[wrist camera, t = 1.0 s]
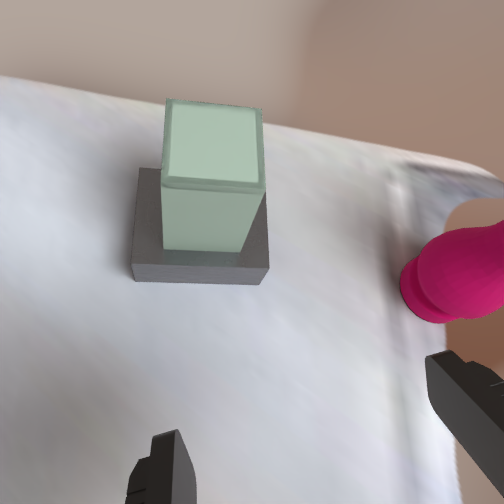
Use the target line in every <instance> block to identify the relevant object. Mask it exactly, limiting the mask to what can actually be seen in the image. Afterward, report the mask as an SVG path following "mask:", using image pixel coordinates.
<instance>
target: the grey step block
mask: <svg viewBox="0 0 504 504" xmlns="http://www.w3.org/2000/svg"><path fill="white" fill-rule="evenodd" d="M131 267H132V271H133V274H134V278H135V282H168V283H204V284H239V285H259V284H260V283H261V281H262V279H263V278H264V276H265V275H266V273H267V272H268V270H269V249H268V229H267V209H266V190H265V193H264V195H263V198H262V200H261V203H260V205H259V207H258V210H257V212H256V215H255V217H254V220H253V222H252V225H251V227H250V229H249V232H248V234H247V237H246V239H245V242H244V244H243V247H242V249H241V252H216V251H193V250H169V249H164V246H163V224H162V202H161V169H150V168H139V179H138V190H137V201H136V211H135V222H134V233H133V244H132V255H131Z"/></svg>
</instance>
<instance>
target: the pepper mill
mask: <svg viewBox="0 0 504 504" xmlns="http://www.w3.org/2000/svg"><path fill="white" fill-rule="evenodd" d="M400 288H401V293H402V295H403V298H404V300H405V302H406V303H407V305H408V306H409V308H410V309H411V310H412V311H413V312H414V313H415V314H416V315H418V316H419V317H421V318H422V319H424V320H426V321H429V322H432V323H446V322H450V321H453V320H455V319H458V318H464V319H473V318H480V317H483V316H486V315H488V314H490V313H492V312H494V311H496V310H497V309H499V308H500V307H501V306H503V305H504V220H502V221H501V222H499V223H497V224H495V225H492V226H488V227H475V228H461V229H457V230H453V231H449V232H446V233H444V234H441V235H439V236H437V237H435V238H434V239H432V240H431V241H430V242H428V243H427V244H426V246H425V247H424V248H423V250H422V251H421V254H420V255H419V256H418V257H416V258H415V259H413V260H412V261H410V262H409V263H408V264H407V265H406V266H405V267H404V269H403V271H402V273H401V278H400Z"/></svg>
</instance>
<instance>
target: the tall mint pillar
mask: <svg viewBox="0 0 504 504" xmlns="http://www.w3.org/2000/svg"><path fill="white" fill-rule="evenodd" d="M265 190H266V183H265V163H264V144H263V124H262V109H259V108H250V107H240V106H232V105H223V104H214V103H204V102H195V101H186V100H176V99H168V98H166V108H165V123H164V138H163V153H162V168H161V202H162V224H163V246H164V249H169V250H193V251H216V252H241V249H242V247H243V244H244V242H245V239H246V237H247V234H248V232H249V229H250V227H251V225H252V222H253V220H254V217H255V215H256V212H257V210H258V207H259V205H260V203H261V200H262V198H263V195H264V193H265Z"/></svg>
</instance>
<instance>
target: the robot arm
mask: <svg viewBox="0 0 504 504" xmlns="http://www.w3.org/2000/svg"><path fill="white" fill-rule="evenodd" d="M425 368H426V379H427V390H428V397H429V400H430V403H431V405H432V407H433V409H434V411H435V412H436V414H437V415H438V416H439V418H440V419H441V420H442V421H443V423H444V424H445V425H446V426H447V428H448V429H449V430H450V431H451V433H452V434H453V435H454V436H455V438H456V439H457V440H458V441H459V443H460V444H461V445H462V446H463V447H464V449H465V450H466V451H467V453H468V454H469V455H470V456H471V457H472V459H473V460H474V461H475V463H476V464H477V465H478V466H479V468H480V469H481V470H482V471H483V472H484V474H485V475H486V476H487V478H488V479H489V480H490V481H491V483H492V484H493V485H494V486H495V487H496V489H497V490H498V491H499V492H500V494H501V495H502V496H503V498H504V380H503V379H501V378H500V377H499V376H498V375H497V374H496V373H495V372H493V371H492V370H491V369H489V368H487V367H485V366H483V365H481V364H478V363H476V362H474V361H471V362H467V363H465V362H464V361H463V360H462V359H461V358H460V357H459V356H458V355H456V354H455V353H454V352H453V351H451V350H446V351H443V352H439V353H436V354H432V355H429V356H426V358H425ZM125 504H197V492H196V477H195V472H194V468H193V464H192V462H191V459H190V457H189V454H188V452H187V449H186V447H185V444H184V442H183V439H182V437H181V434H180V432H179V430H178V429H176V430H172V431H169V432H166V433H162V434H159V435H155V436H153V438H152V444H151V452H150V456H149V457H146V458H142V459H139V460H138V462H137V464H136V466H135V468H134V469H133V471H132V473H131V475H130V477H129V483H128V489H127V497H126V501H125Z"/></svg>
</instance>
